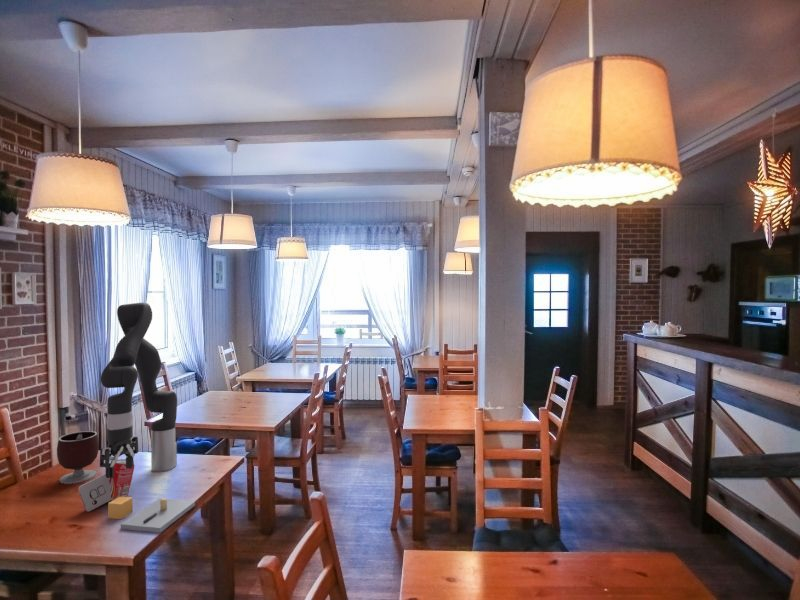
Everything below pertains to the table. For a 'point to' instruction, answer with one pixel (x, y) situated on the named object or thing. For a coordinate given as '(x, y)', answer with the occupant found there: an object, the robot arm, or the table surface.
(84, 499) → the electrical switch
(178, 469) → the table surface
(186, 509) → the grey slider board
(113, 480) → the soda can
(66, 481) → the mate gourd
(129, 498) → the orange toy cube
